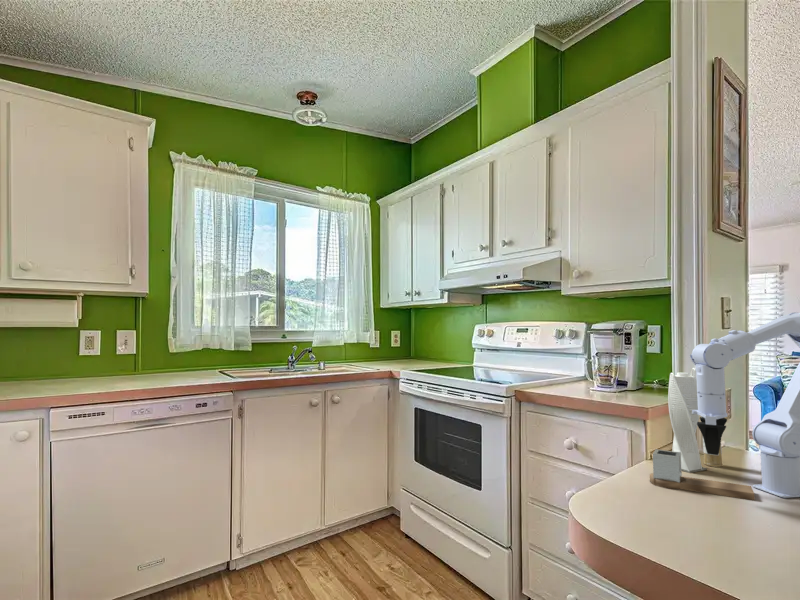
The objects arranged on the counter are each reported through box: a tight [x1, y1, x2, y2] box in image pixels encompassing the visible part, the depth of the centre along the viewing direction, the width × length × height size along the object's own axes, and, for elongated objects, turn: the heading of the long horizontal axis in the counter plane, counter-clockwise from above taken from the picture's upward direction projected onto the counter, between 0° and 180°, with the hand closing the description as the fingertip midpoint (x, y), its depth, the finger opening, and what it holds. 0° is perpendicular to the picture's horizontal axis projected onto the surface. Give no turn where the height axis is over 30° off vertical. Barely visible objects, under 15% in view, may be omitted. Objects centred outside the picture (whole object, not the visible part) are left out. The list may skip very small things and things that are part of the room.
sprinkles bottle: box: [702, 437, 723, 468], centre depth 132 cm, size 5×5×14 cm
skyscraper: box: [667, 367, 707, 474], centre depth 129 cm, size 8×8×28 cm
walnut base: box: [649, 472, 756, 501], centre depth 112 cm, size 21×8×4 cm, turn 59°
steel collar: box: [652, 448, 683, 483], centre depth 116 cm, size 6×6×6 cm
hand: (713, 450), depth 111 cm, fingers open, 7 cm apart
